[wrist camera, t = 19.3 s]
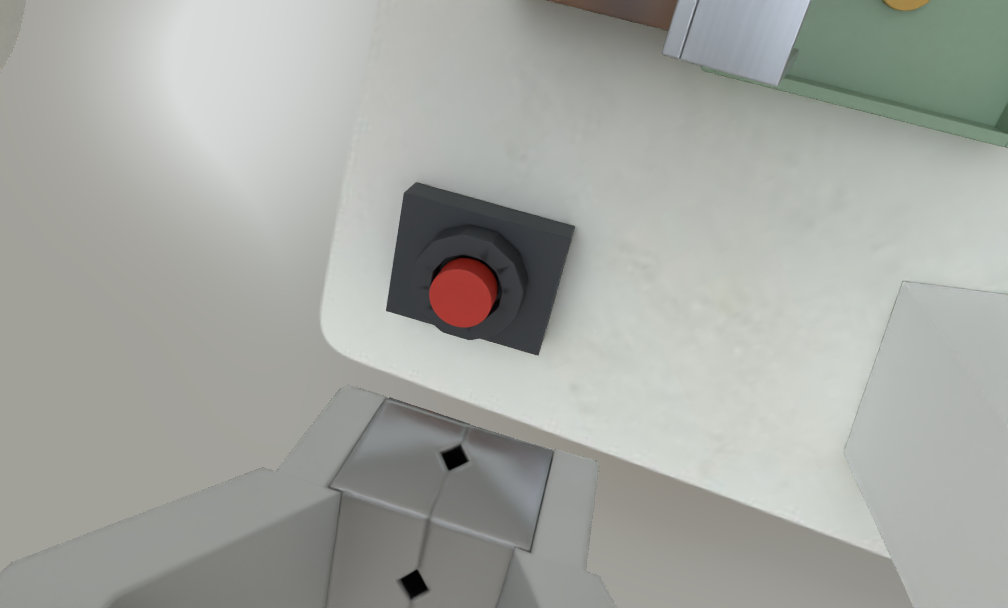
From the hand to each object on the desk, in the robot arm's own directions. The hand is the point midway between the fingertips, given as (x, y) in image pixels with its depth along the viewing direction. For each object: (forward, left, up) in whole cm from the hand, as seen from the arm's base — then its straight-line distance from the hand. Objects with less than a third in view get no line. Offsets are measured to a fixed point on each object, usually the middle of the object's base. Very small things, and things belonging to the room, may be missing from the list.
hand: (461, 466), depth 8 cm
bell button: (-5, -13, -30) cm, 33 cm away
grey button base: (-5, -13, -33) cm, 36 cm away
